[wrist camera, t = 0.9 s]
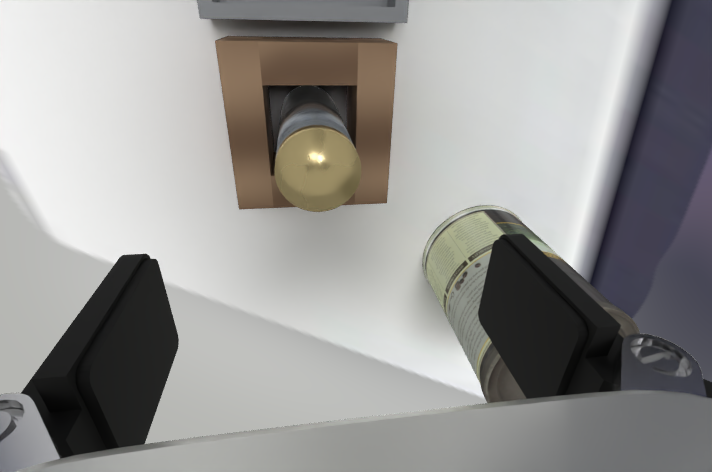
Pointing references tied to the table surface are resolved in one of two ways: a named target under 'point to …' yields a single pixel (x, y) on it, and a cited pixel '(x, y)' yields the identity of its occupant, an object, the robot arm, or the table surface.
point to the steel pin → (315, 152)
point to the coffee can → (466, 281)
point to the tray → (306, 10)
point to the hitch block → (306, 67)
